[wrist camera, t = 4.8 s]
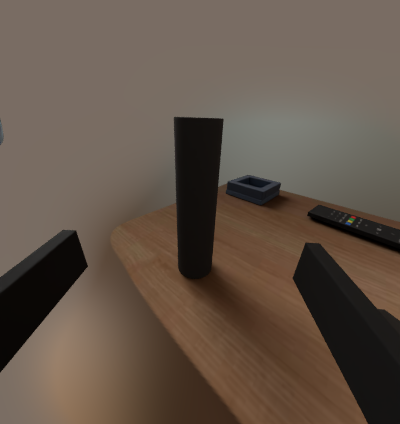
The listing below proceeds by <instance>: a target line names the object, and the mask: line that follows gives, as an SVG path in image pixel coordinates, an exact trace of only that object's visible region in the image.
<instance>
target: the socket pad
mask: <svg viewBox="0 0 400 424" xmlns="http://www.w3.org/2000/svg"><path fill="white" fill-rule="evenodd" d="M280 185H281V183H279V182H275V181H271V180H267V179H263V178H259V177H255V176H251V175H246V176H243V177H240V178H237V179H234V180H231V181H228V184H227V190H226V194H229V195H232V196H235V197H238V198H241V199H244V200H247V201H250V202H253V203H255V204H258V205H262V204H264V203H266V202H267V201H269V200H271V199H272V198H274V197H276V196H277V195H279V192H280V191H279V189H280Z"/></svg>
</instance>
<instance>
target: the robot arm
mask: <svg viewBox="0 0 400 424" xmlns="http://www.w3.org/2000/svg"><path fill="white" fill-rule="evenodd" d="M2 142H3V130H2V125H1V120H0V145H1V143H2ZM87 267H88V265H87V262H86V259H85V256H84V253H83V250H82V247H81V244H80V242H79V238H78V235H77V232H76V231H74V230H62V231H61V232H60V233H58V234H57V235H56V236H54V237H53V238H52V239H50V240H49V241H48V242H47V243H45V244H44V245H42V246H41V247H40V248H38V249H37V250H36V251H35V252H33V253H32V254H31V255H29V256H28V257H27V258H25V259H24V260H23V261H21V262H20V263H19V264H17V265H16V266H15V267H13V268H12V269H11V270H9V271H8V272H7V273H6V274H4V275H3V276H1V277H0V372H1V371H2V370H3V368H4V367H5V366H6V365H7V364H8V362H9V361H10V360H11V359H12V358H13V356H14V355H15V354H16V353H17V351H18V350H19V349H20V348H21V347H22V345H23V344H24V343H25V342H26V340H27V339H28V338H29V337H30V336H31V335H32V333H33V332H34V331H35V330H36V329H37V327H38V326H39V325H40V324H41V323H42V321H43V320H44V319H45V318H46V316H47V315H48V314H49V313H50V312H51V310H52V309H53V308H54V307H55V306H56V304H57V303H58V302H59V301H60V299H61V298H62V297H63V296H64V295H65V293H66V292H67V291H68V290H69V289H70V287H71V286H72V285H73V284H74V283H75V281H76V280H77V279H78V278H79V277H80V275H81V274H82V273H83V272H84V270H85V269H86V268H87ZM293 280H294V282H295V284H296V286H297V288H298V290H299V292H300V293H301V295H302V297H303V299H304V301H305V303H306V305H307V307H308V309H309V311H310V313H311V315H312V317H313V318H314V320H315V322H316V324H317V326H318V328H319V330H320V332H321V334H322V336H323V338H324V340H325V342H326V343H327V345H328V347H329V349H330V351H331V353H332V355H333V357H334V359H335V361H336V363H337V365H338V366H339V368H340V370H341V372H342V374H343V376H344V378H345V380H346V382H347V384H348V386H349V388H350V390H351V391H352V393H353V395H354V397H355V399H356V401H357V403H358V405H359V407H360V409H361V411H362V413H363V415H364V416H365V418H366V420H367V422H368V424H400V321H399V320H398V319H396V318H395V317H394V316H392V315H391V314H390V313H388V312H387V311H386V310H382V309H377V308H376V307H375V306H374V305H373V304H372V302H371V301H370V300H369V299H368V298H367V297H366V296H365V294H364V293H363V292H362V291H361V290H360V289H359V288H358V287H357V285H356V284H355V283H354V282H353V281H352V280H351V279H350V277H349V276H348V275H347V274H346V273H345V272H344V271H343V270H342V268H341V267H340V266H339V265H338V264H337V263H336V262H335V260H334V259H333V258H332V257H331V256H330V255H329V254H328V253H327V251H326V250H325V249H324V248H323V247H322V246H321V245H320V244H319V243H305V246H304V249H303V251H302V254H301V257H300V260H299V262H298V265H297V268H296V270H295V273H294V276H293Z"/></svg>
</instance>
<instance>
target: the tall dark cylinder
mask: <svg viewBox="0 0 400 424" xmlns="http://www.w3.org/2000/svg"><path fill="white" fill-rule="evenodd" d="M222 130H223V119H219V118H191V117H174V137H175V169H176V204H177V237H178V268H179V271H180V272H181V274H182V275H184V276H185V277H188V278H191V279H199V278H202V277H205V276H206V275H208V274H209V272H210V271H211V266H212V254H213V242H214V229H215V217H216V205H217V193H218V180H219V168H220V156H221V144H222Z"/></svg>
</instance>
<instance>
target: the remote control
mask: <svg viewBox="0 0 400 424" xmlns="http://www.w3.org/2000/svg"><path fill="white" fill-rule="evenodd" d="M307 216H310V217H313V218H315V219H318V220H321V221H324V222H327V223H329V224H332V225H335V226H338V227H340V228H343V229H346V230H349V231H352V232H354V233H357V234H360V235H363V236H365V237H368V238H371V239H374V240H377V241H379V242H382V243H385V244H388V245H390V246H393V247H396V248H399V249H400V230H399V229H396V228H392V227H389V226H386V225H383V224H380V223H376V222H373V221H370V220H367V219H363V218H360V217H357V216H354V215H351V214H347V213H344V212H341V211H338V210H334V209H331V208H328V207H325V206H322V205H318V206H316V207H315V208H313V209H312V210H311V211H309V212H308V215H307Z"/></svg>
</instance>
